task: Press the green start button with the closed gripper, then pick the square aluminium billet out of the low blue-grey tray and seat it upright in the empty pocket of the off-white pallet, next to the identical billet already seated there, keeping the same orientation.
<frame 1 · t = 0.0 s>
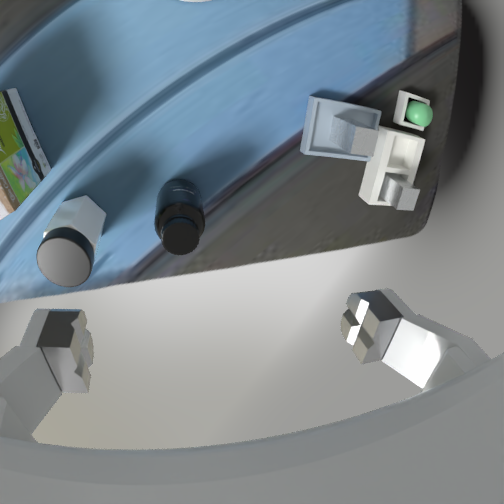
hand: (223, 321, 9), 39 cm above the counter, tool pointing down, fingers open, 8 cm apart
start button: (419, 113, 44), point 3 cm above the counter, slide at 0.0 cm
billet: (342, 129, 46), point 1 cm above the counter, touching tote
pallet: (386, 163, 52), on the counter
tote: (339, 128, 47), on the counter
jar: (82, 218, 45), on the counter
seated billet: (386, 182, 53), resting on pallet
supplement bottle: (178, 198, 48), on the counter
button housing: (408, 109, 47), on the counter
tea box: (12, 142, 35), on the counter
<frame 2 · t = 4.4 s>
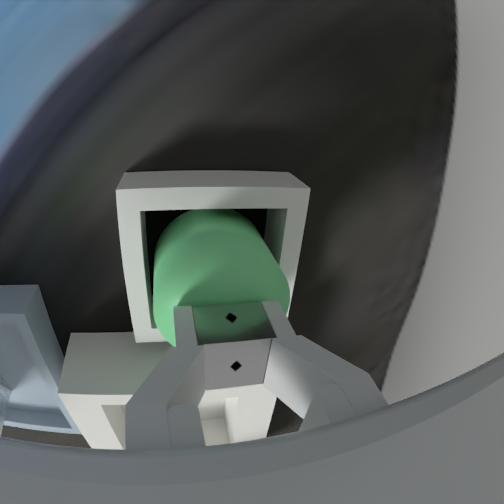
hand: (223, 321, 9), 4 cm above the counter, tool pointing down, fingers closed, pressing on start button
start button: (215, 281, 10), point 2 cm above the counter, slide at 0.5 cm, touching gripper
pallet: (174, 410, 17), on the counter
button housing: (206, 245, 12), on the counter
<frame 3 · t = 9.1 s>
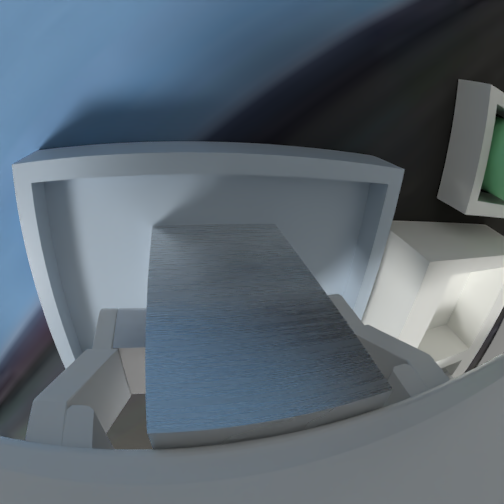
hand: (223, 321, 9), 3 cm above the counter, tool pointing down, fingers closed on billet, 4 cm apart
billet: (212, 277, 11), point 1 cm above the counter, touching gripper, tote
pallet: (403, 325, 17), on the counter
tote: (209, 262, 12), on the counter
button housing: (482, 149, 13), on the counter
when the fingers open (5 cm above the counter, at t = 13.5 s): billet drops 1 cm, resting on pallet.
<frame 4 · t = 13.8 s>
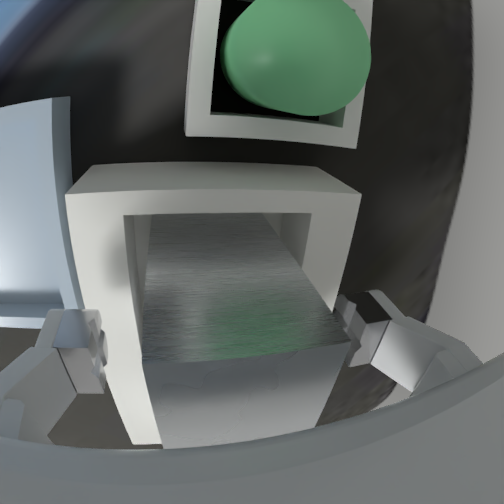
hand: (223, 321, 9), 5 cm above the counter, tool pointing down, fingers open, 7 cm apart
start button: (290, 52, 8), point 2 cm above the counter, slide at 0.8 cm
billet: (205, 259, 12), point 1 cm above the counter, touching pallet
pallet: (203, 305, 15), on the counter
button housing: (270, 58, 10), on the counter
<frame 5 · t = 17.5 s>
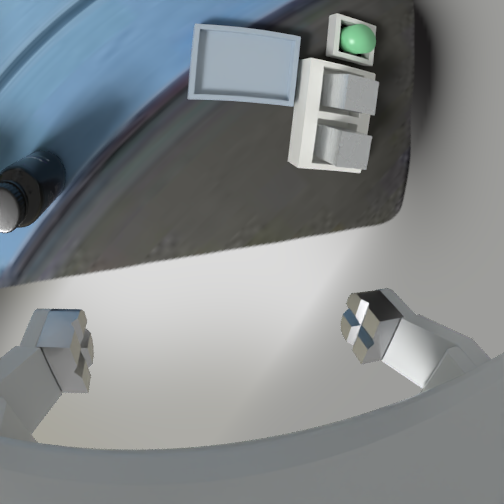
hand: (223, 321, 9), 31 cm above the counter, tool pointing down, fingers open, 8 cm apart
start button: (356, 39, 31), point 2 cm above the counter, slide at 0.8 cm
billet: (332, 92, 35), point 1 cm above the counter, touching pallet
pallet: (325, 114, 38), on the counter
tote: (242, 65, 32), on the counter
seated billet: (326, 139, 38), resting on pallet
supplement bottle: (43, 175, 32), on the counter
button housing: (347, 40, 33), on the counter
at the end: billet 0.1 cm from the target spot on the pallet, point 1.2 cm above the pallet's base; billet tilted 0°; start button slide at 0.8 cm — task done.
